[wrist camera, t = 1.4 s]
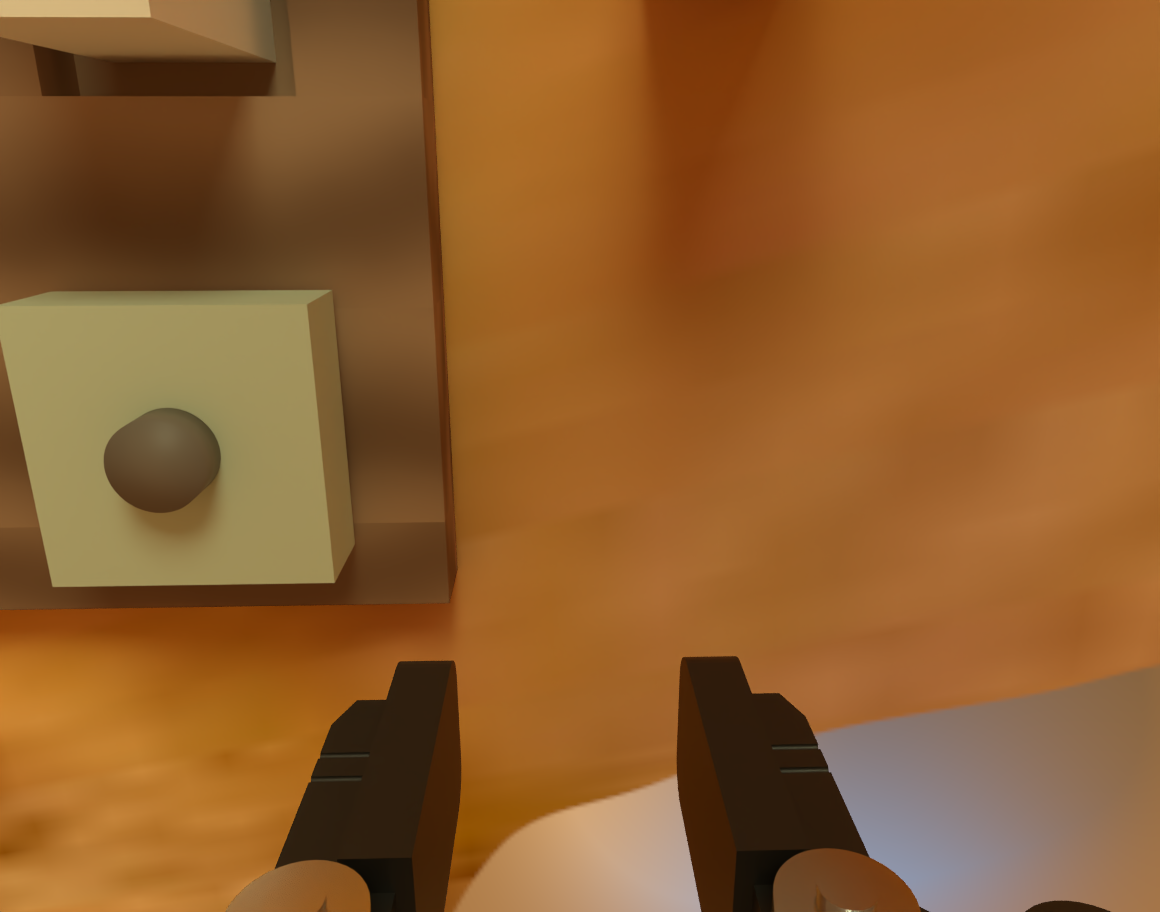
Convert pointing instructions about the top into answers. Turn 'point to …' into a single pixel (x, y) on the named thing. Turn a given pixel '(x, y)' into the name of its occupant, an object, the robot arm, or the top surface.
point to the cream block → (145, 29)
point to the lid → (182, 435)
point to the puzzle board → (251, 257)
